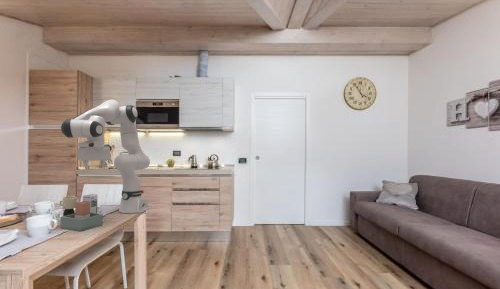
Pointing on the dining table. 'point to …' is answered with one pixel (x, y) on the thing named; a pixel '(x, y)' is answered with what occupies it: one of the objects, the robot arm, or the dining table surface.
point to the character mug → (69, 205)
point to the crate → (81, 222)
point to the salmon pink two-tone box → (82, 210)
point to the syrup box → (91, 202)
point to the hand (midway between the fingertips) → (94, 168)
